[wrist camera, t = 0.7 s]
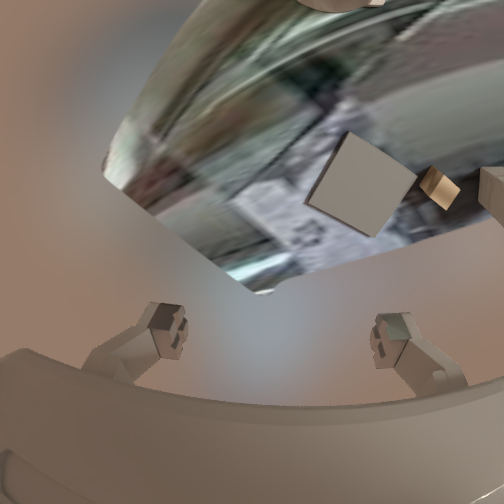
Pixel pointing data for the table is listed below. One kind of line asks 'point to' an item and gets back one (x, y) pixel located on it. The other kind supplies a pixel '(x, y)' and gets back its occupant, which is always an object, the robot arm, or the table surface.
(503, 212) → the supplement box
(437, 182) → the birch block
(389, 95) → the table surface
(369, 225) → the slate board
